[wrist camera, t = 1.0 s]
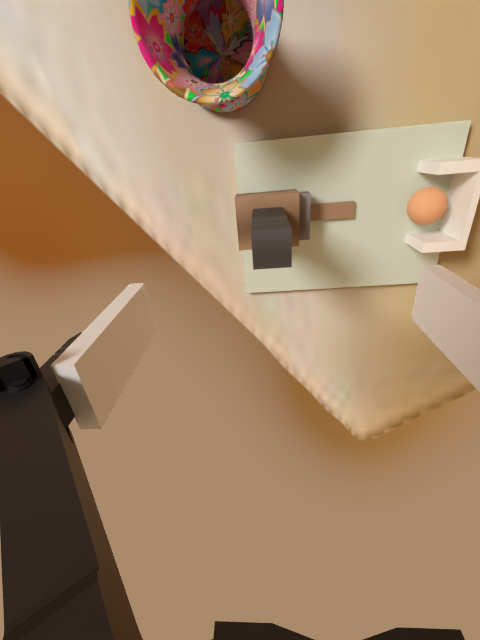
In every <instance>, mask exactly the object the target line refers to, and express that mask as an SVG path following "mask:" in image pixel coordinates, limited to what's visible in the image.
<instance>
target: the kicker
mask: <svg viewBox="0 0 480 640" xmlns="http://www.w3.org/2000/svg"><path fill="white" fill-rule="evenodd" d="M310 206H311V193H310V192H308V191H306V192H298V191H297V190H296V189H290V190H278V191H267V192H255V193H243V194H236V197H235V207H236V218H237V229H238V241H239V251H240V250H252V256H253V270H256V269H272V268H287V267H292V247H297V246H299V240H310Z"/></svg>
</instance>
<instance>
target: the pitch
mask: <svg viewBox="0 0 480 640" xmlns="http://www.w3.org/2000/svg"><path fill="white" fill-rule="evenodd" d="M470 124H471V120H464V121H454V122H444V123H434V124H424V125H414V126H404V127H394V128H384V129H374V130H364V131H354V132H344V133H334V134H324V135H314V136H304V137H294V138H284V139H274V140H264V141H254V142H244V143H234V144H233V149H234V161H235V173H236V185H237V194H243V193H255V192H267V191H278V190H290V189H296V190H297V191H298V192H306V191H308V192H310V193H311V206H310V240H299V246H297V247H292V267H287V268H272V269H256V270H253V256H252V250H242V257H243V269H244V281H245V293H257V292H274V291H292V290H309V289H326V288H344V287H361V286H378V285H395V284H413V283H418V282H419V277H420V272H421V268H422V266H424V265H437V263H438V259H439V254H440V252H430V253H421V252H419V251H418V250H416V249H415V248H413V247H412V246H410V245H408V244H407V243H405V239H406V233H415V232H429V231H439V230H440V226H441V221H442V217H443V216H442V217H441V218H440V219H439V220H437V221H436V222H434V223H431V224H427V225H421V224H417V223H415V222H413V221H412V220H411V219H410V218H409V216H408V214H407V204H408V201H409V200H410V198H411V197H412V195H413V194H414V193H416V192H417V191H419V190H420V189H423V188H426V187H437V188H439V189H441V190H443V191H444V192H445V193H446V195H448V191H449V186H450V182H451V178H452V174H444V175H435V174H428V173H421V172H417V171H418V165H419V161H421V160H432V159H443V158H454V157H463V153H464V149H465V145H466V141H467V137H468V132H469V128H470Z"/></svg>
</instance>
